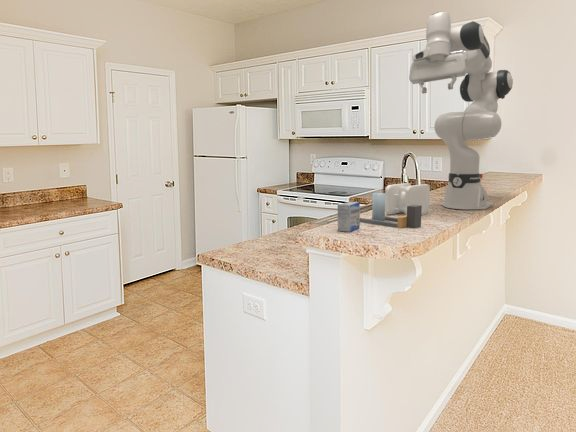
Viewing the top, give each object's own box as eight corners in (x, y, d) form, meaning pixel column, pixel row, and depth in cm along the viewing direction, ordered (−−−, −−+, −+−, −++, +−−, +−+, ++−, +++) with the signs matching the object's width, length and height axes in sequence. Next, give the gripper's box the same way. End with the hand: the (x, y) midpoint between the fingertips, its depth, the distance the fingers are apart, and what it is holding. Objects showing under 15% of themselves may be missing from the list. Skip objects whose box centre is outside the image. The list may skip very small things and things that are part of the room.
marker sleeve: (376, 220, 166) (377, 192, 165) (387, 221, 163) (387, 193, 162) (369, 221, 163) (370, 193, 162) (380, 223, 160) (380, 194, 159)
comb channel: (375, 218, 170) (375, 199, 169) (425, 225, 156) (426, 204, 155) (358, 221, 163) (358, 202, 162) (409, 229, 149) (410, 207, 148)
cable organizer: (406, 218, 169) (407, 186, 167) (383, 215, 177) (384, 184, 175) (429, 213, 179) (430, 183, 177) (406, 210, 187) (407, 182, 185)
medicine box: (349, 232, 146) (350, 205, 144) (337, 231, 148) (337, 204, 147) (359, 228, 152) (360, 202, 151) (347, 226, 155) (347, 201, 153)
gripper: (469, 53, 168) (468, 89, 167) (413, 63, 179) (412, 97, 177) (465, 45, 163) (465, 83, 161) (408, 56, 174) (407, 92, 172)
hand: (437, 90), depth 169 cm, fingers open, 8 cm apart
